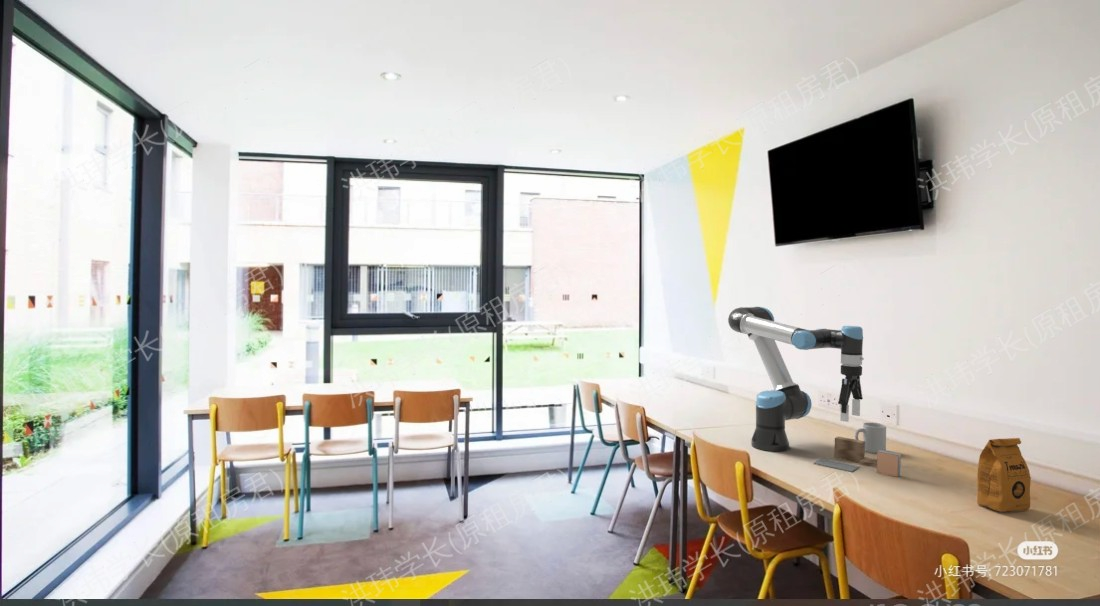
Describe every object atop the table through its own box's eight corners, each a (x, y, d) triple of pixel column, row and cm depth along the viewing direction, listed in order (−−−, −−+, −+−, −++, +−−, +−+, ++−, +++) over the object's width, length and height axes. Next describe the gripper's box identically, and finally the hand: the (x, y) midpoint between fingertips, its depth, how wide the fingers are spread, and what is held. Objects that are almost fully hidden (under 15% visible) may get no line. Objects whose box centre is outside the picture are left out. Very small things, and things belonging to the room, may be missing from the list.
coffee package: (1036, 514, 171) (1038, 442, 170) (999, 515, 170) (1001, 443, 169) (1006, 501, 181) (1008, 433, 180) (971, 503, 179) (973, 434, 179)
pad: (813, 463, 219) (813, 462, 219) (820, 459, 225) (820, 458, 225) (852, 472, 209) (852, 471, 209) (859, 467, 215) (859, 466, 215)
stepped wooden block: (832, 458, 226) (833, 438, 225) (839, 455, 231) (839, 435, 230) (883, 469, 213) (883, 448, 213) (888, 465, 218) (889, 444, 218)
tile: (876, 472, 209) (877, 451, 208) (878, 471, 211) (879, 449, 210) (898, 477, 204) (898, 455, 203) (900, 475, 206) (900, 453, 205)
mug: (879, 448, 240) (879, 422, 240) (890, 454, 232) (890, 427, 232) (850, 447, 241) (850, 422, 241) (860, 453, 232) (860, 427, 232)
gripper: (851, 369, 212) (850, 425, 213) (871, 362, 230) (870, 414, 230) (830, 367, 217) (829, 421, 218) (851, 361, 235) (850, 411, 236)
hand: (850, 418), depth 224 cm, fingers open, 13 cm apart
